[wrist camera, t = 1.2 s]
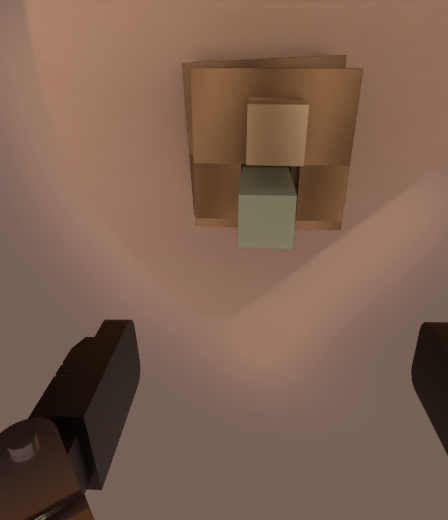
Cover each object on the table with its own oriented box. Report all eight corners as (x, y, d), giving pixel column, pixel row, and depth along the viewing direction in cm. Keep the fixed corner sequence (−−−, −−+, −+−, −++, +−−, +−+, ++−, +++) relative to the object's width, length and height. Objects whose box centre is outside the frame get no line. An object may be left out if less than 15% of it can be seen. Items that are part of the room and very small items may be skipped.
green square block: (284, 154, 30) (297, 196, 21) (282, 194, 31) (292, 249, 22) (243, 154, 30) (238, 194, 21) (243, 193, 31) (237, 247, 22)
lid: (357, 68, 25) (388, 71, 19) (336, 222, 29) (356, 262, 23) (194, 67, 25) (175, 70, 20) (198, 218, 30) (184, 257, 24)
